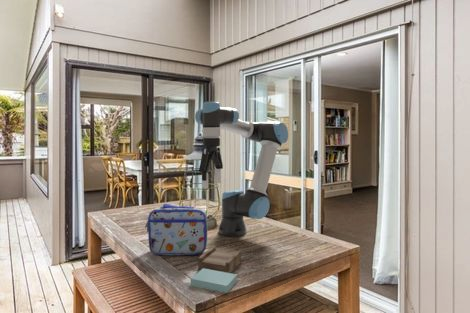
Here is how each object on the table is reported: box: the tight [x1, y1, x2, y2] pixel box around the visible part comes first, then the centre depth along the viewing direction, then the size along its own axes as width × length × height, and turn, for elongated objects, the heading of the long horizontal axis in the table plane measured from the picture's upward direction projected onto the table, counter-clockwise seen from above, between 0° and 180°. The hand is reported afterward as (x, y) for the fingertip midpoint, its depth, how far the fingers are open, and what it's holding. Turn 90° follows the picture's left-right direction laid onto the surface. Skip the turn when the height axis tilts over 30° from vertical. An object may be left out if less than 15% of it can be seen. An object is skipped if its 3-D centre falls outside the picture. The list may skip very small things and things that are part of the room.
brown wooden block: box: [197, 246, 242, 274], centre depth 132 cm, size 14×13×5 cm
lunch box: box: [144, 203, 208, 256], centre depth 145 cm, size 28×10×22 cm, turn 92°
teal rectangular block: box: [190, 268, 238, 294], centre depth 117 cm, size 14×10×3 cm
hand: (211, 185), depth 143 cm, fingers open, 13 cm apart
